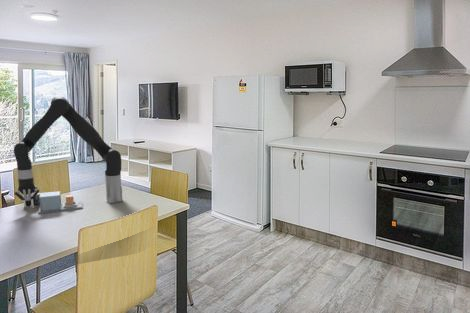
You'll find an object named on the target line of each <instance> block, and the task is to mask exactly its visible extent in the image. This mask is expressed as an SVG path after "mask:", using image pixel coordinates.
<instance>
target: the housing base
mask: <svg viewBox="0 0 470 313" xmlns="http://www.w3.org/2000/svg"><path fill="white" fill-rule="evenodd" d="M81 209H83V202H82V201H74V205H66V202H63V203H61V209H55V210H47V211H40V207H38V213H37V214H38V215H40V214H49V213H57V212H58V211H59V212H65V211H67V212H68V211H73V210H81Z"/></svg>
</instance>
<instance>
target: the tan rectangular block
mask: <svg viewBox="0 0 470 313" xmlns="http://www.w3.org/2000/svg"><path fill="white" fill-rule="evenodd" d="M74 202H75V201H74V194H67V195H65V203H66V205H74Z"/></svg>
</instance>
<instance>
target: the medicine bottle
mask: <svg viewBox="0 0 470 313" xmlns="http://www.w3.org/2000/svg"><path fill="white" fill-rule="evenodd" d="M34 186H35V188H37V189H38V186H37V185H34ZM34 193H35V190H34V191H33V193H32V194H31V197H32V196H33V195H34ZM40 193H41V192H38V194H37V195H36V196H35V198H34V199H32V200H31V206H30V207H29V208H37V207H40V200H39V196H40ZM22 196H23V197H24V195H23V194H22ZM27 197H28V194H27ZM22 201H23V207H24V208H28V207H27V206H26V205H25V200H22Z"/></svg>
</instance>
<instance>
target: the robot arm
mask: <svg viewBox="0 0 470 313" xmlns="http://www.w3.org/2000/svg"><path fill="white" fill-rule="evenodd" d="M61 117H63V118H64V119H65V120H66V122H68V123H69V125H70V127H71V128H72V130H74V132H75V134H77V135H78V136H79V137H80V139H82V140H83V141H84V143H85V142H86V143H87V145H88V146H90V147H91V148H93V149H94V151H96V152H97V154H98V155H99V156H100V157H101V158H102V160H103V161H104V163H105V164H106V165H105V168H106V170H105V171H104V176H105V178H104V179H105V193H106V196H105V197H106V203H108V204H116V203H121V202H123V186H122V178H121V177H122V176H121V175H122V172H121V171H122V155H121V153H120V152H119V151H118V150H116V149H114V148H112V147H111V146H110V145H108V144H107V142H105V141H104V139H103V138H102V136H101V135H100V132H98V131H97V129H96V128H95V127H94V126H93V125H92V124H90V122H89V121H87V120H86V119H85V118H84V117H83V116H82V115H80V114H79V112H77V111H76V109H75V108H74V107H73V106H72V104H70V102H69V101H68V99H66V98H65V97H63V96H60V95H59V96H55V97H53V98H51V101H50V106H49V107H48V109H47V111H46V112H45V114H43V116H42V117H41V118H40V119H39V120H38V121H36V122H35V123H34V125H32V126H31V128H30V129H29V130H28V131H27V132H26V133H25V136H24V138H23V139H22V140H21V141H20V142H17V143H16V144H15V145H14V147H13V154H14V158H15V160H16V164H17V165H16V167H17V182H18V190H16V191H14V192H13V193H14V195H15V196H16V197H18V198H19V199H20V200H21V201H23V200H25V205H26V206H27V207H26V208H31V207H30V206H31V200H32V199H34V198H35V196H36V195H37V194H38V193H40V189H39V188H38V187H37V188H35V186H36V185H35V179H34V172H33V167H32V166H33V165H32V160H31V159H30V156H29V153H30V152H31V151H32V149H34V147H35V145H36V144H37V143H38V142H39V141H40V139H41V138H42V137H43V136H44V135H45V134H46V132H47V131H48V130H49V129H50V127H52V125H53V124H54V123H55V122H56V121H57V120H58V119H60V118H61ZM34 190H35V193H34V195H33V196H32V197H31V194H32V193H33V191H34ZM27 194H28V197H27ZM23 195H24V197H23Z"/></svg>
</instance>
